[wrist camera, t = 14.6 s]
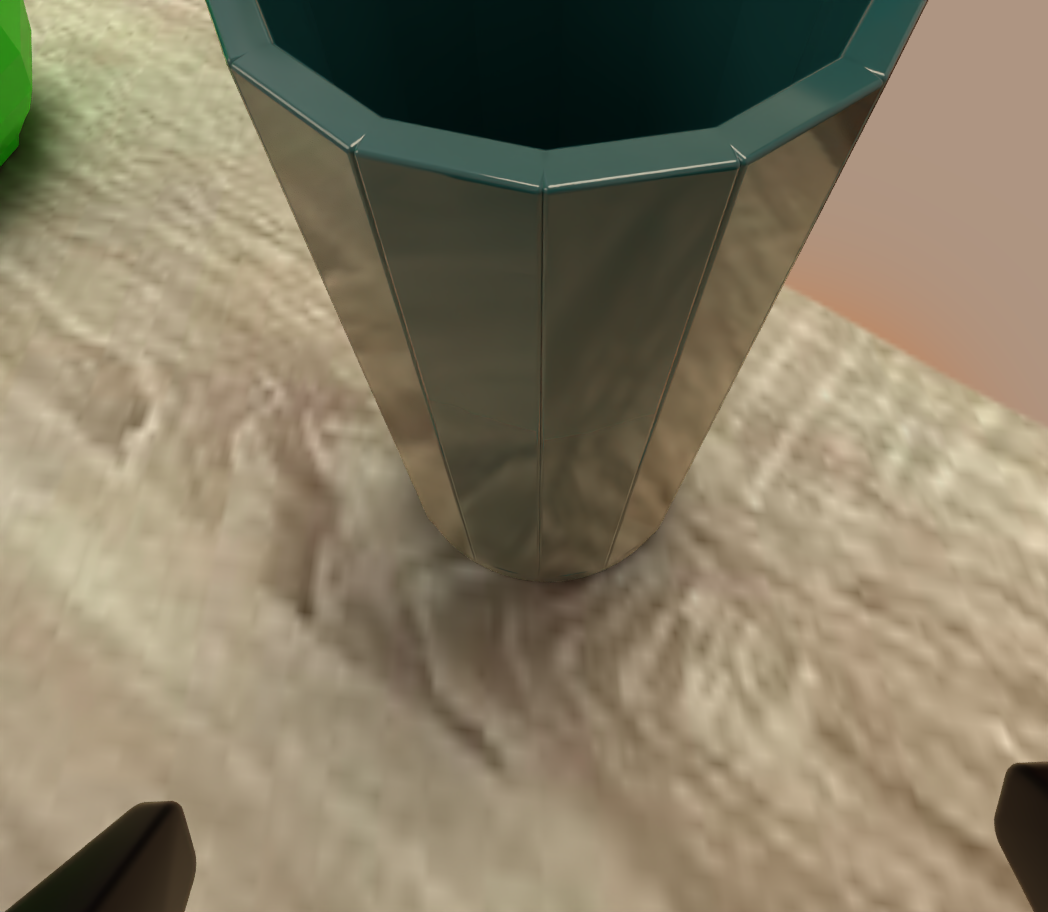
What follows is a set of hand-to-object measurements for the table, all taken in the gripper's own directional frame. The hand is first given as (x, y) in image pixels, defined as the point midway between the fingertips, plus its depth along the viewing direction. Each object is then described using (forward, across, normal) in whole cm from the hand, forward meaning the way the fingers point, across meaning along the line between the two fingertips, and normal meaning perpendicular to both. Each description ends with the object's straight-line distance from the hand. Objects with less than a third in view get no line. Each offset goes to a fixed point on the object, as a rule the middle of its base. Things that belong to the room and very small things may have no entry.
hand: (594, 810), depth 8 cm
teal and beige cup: (+11, 0, 0) cm, 11 cm away
